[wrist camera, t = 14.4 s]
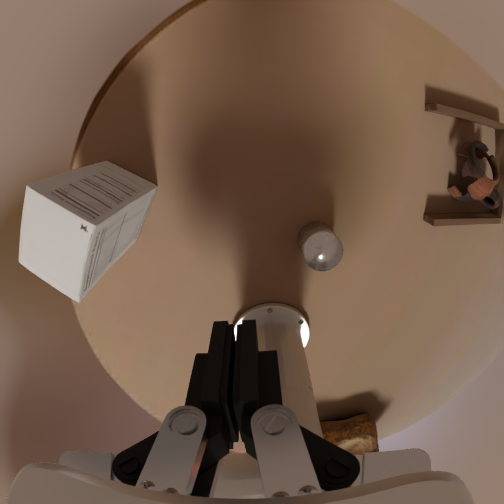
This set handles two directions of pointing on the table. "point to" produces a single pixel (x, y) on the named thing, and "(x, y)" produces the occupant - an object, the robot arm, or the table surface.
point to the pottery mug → (478, 176)
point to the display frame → (499, 213)
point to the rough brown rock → (352, 434)
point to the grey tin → (320, 246)
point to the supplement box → (81, 224)
